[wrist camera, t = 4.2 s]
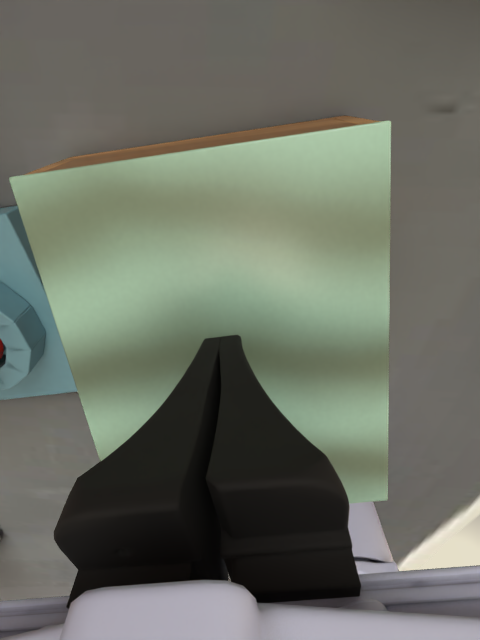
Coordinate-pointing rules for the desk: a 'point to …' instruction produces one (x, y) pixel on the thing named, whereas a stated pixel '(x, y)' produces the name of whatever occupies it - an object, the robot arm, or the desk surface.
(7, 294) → the block
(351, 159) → the lid
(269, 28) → the desk surface
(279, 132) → the box
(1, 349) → the button
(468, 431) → the desk surface
